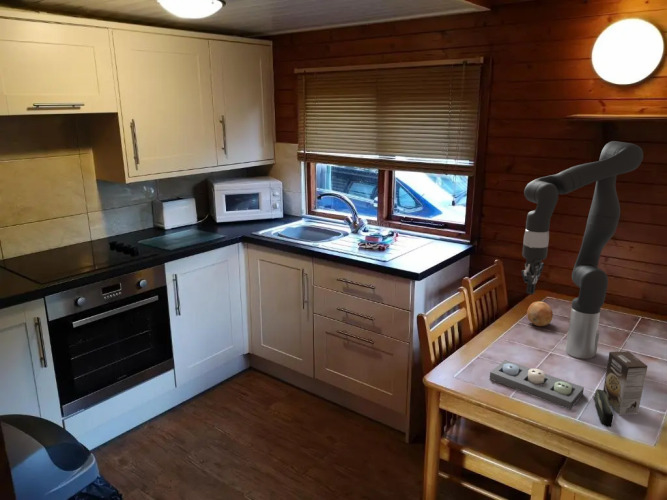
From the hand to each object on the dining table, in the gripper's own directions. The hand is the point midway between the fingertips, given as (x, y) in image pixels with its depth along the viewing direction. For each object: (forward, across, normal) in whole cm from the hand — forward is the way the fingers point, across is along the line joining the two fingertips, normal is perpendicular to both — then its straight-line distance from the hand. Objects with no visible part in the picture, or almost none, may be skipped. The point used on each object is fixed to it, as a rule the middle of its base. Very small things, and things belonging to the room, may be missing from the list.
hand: (530, 293), depth 173 cm
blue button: (+26, +10, 0) cm, 28 cm away
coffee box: (+27, +4, +32) cm, 42 cm away
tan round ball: (+27, -36, -9) cm, 46 cm away
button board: (+27, +10, +8) cm, 30 cm away
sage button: (+26, +10, +17) cm, 33 cm away
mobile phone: (+27, +11, +29) cm, 41 cm away
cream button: (+25, +10, +9) cm, 28 cm away
